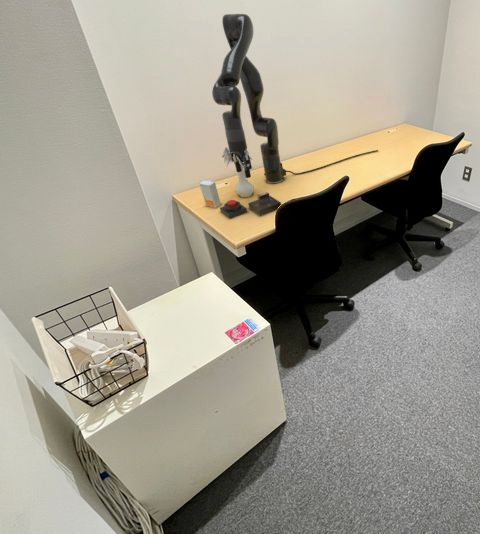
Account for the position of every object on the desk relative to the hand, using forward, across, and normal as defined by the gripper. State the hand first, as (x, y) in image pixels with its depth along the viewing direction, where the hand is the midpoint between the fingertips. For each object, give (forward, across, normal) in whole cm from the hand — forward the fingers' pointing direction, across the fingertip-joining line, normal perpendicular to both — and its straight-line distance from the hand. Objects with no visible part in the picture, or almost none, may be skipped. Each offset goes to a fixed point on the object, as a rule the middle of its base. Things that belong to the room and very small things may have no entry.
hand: (243, 174), depth 149 cm
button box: (+17, +2, +8) cm, 19 cm away
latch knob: (+14, -5, -5) cm, 16 cm away
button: (+13, +2, +8) cm, 16 cm away
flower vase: (+17, +15, -5) cm, 23 cm away
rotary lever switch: (+17, -5, -5) cm, 19 cm away
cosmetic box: (+17, +14, +12) cm, 26 cm away
